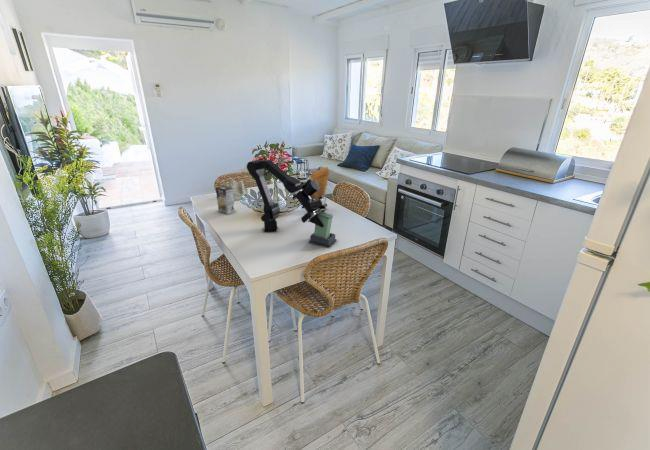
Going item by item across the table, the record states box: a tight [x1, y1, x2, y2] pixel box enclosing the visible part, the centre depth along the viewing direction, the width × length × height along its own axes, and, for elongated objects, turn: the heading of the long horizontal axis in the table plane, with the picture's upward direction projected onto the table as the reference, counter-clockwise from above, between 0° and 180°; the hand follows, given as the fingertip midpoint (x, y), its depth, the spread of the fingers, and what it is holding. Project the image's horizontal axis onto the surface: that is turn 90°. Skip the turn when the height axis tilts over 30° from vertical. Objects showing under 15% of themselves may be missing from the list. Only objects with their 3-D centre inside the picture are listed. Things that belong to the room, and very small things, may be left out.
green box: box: [313, 211, 334, 239], centre depth 159 cm, size 7×4×13 cm, turn 58°
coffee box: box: [215, 184, 236, 215], centre depth 198 cm, size 9×6×16 cm
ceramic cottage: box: [225, 178, 249, 201], centre depth 226 cm, size 16×16×15 cm
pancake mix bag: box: [309, 166, 329, 214], centre depth 197 cm, size 7×19×28 cm, turn 139°
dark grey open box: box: [308, 232, 337, 248], centre depth 162 cm, size 12×8×4 cm
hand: (325, 225), depth 158 cm, fingers closed on green box, 4 cm apart
